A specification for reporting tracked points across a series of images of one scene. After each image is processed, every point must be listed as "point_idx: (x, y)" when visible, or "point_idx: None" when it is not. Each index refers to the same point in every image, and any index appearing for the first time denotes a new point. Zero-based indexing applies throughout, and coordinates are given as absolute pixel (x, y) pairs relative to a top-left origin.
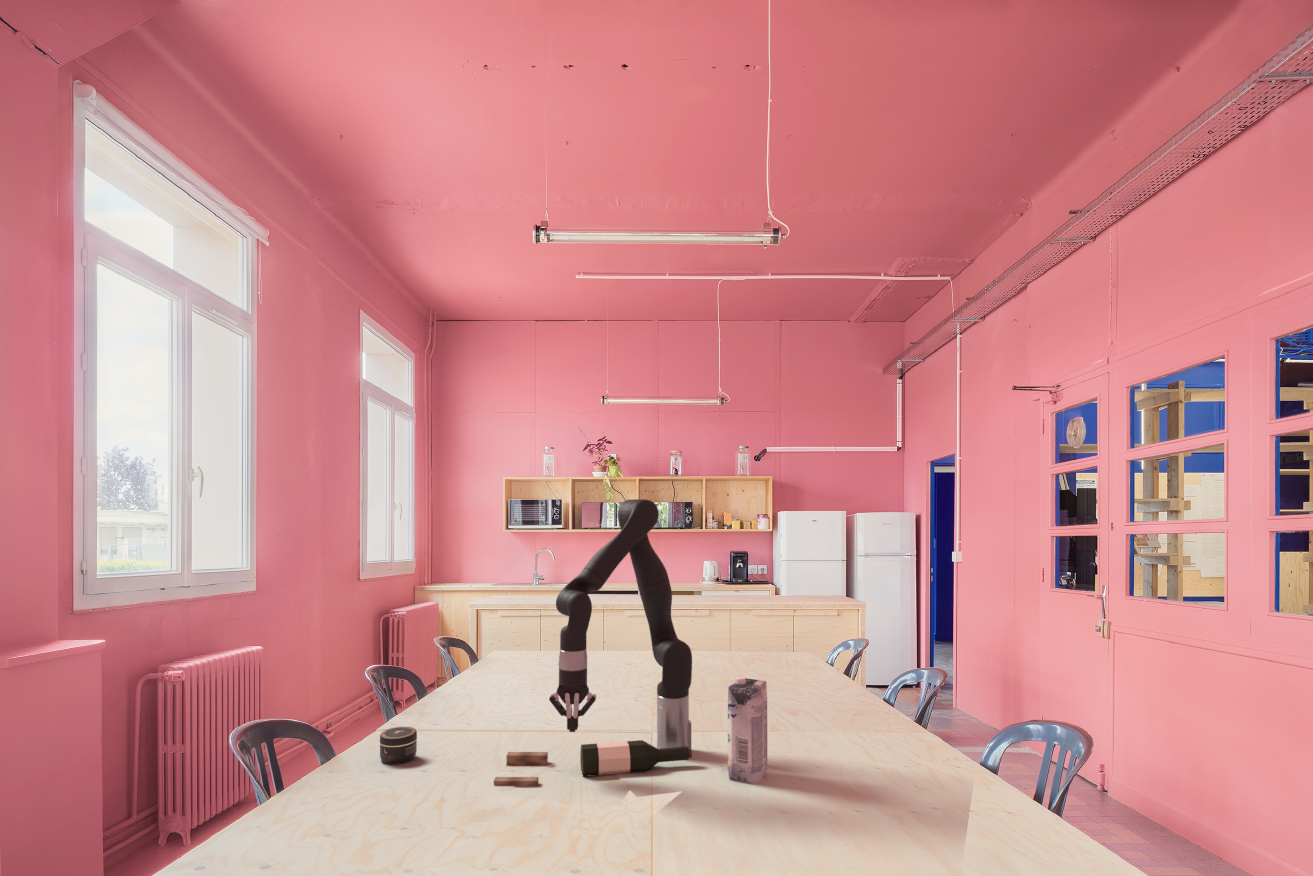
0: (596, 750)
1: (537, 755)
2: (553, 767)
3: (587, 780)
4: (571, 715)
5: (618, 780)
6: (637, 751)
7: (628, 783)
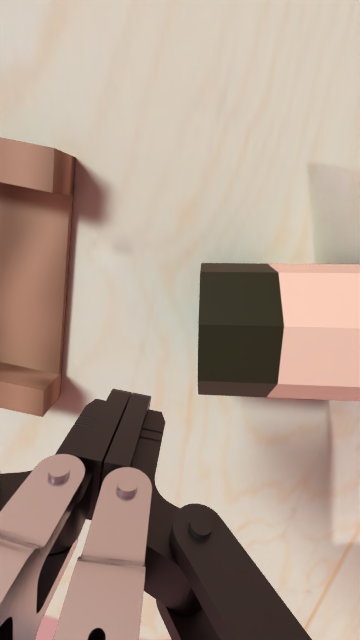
0: (266, 386)
1: (12, 184)
2: (101, 209)
3: None
4: (78, 532)
5: None
6: None
7: None
